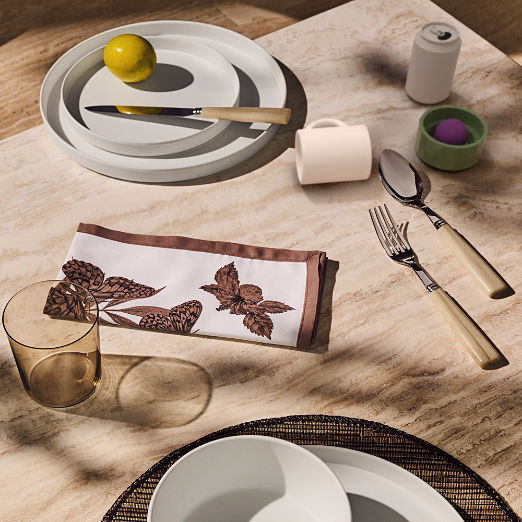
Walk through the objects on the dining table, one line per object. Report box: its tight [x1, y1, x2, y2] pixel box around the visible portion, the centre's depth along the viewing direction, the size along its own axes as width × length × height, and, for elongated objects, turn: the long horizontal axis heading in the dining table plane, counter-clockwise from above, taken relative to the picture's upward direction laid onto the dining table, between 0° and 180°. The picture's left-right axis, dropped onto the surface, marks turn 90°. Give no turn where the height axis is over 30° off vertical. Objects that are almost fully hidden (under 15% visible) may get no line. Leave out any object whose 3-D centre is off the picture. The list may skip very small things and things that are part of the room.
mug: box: [294, 117, 373, 185], centre depth 101 cm, size 12×10×8 cm
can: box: [404, 20, 463, 105], centre depth 112 cm, size 8×8×12 cm
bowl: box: [413, 104, 489, 172], centre depth 104 cm, size 10×10×5 cm
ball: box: [434, 119, 468, 146], centre depth 104 cm, size 5×5×5 cm
